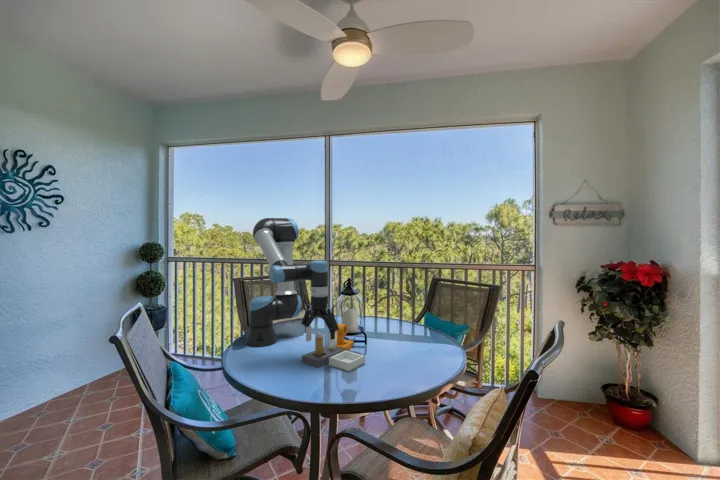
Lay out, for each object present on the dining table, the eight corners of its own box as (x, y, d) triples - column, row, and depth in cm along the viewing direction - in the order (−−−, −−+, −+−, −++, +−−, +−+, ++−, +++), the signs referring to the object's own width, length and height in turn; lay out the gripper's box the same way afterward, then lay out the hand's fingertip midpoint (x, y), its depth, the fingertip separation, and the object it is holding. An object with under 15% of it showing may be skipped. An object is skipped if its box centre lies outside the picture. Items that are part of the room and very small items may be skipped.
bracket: (345, 353, 164) (345, 328, 163) (331, 351, 166) (331, 326, 166) (354, 346, 174) (354, 322, 174) (340, 344, 176) (340, 321, 176)
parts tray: (329, 365, 148) (329, 357, 148) (345, 358, 157) (345, 350, 157) (349, 371, 142) (349, 363, 142) (364, 363, 150) (364, 355, 150)
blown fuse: (313, 361, 153) (313, 334, 153) (319, 358, 156) (319, 332, 156) (319, 363, 151) (319, 335, 151) (325, 360, 154) (325, 333, 154)
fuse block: (318, 367, 146) (318, 339, 145) (301, 362, 152) (301, 335, 151) (345, 355, 160) (345, 329, 160) (329, 351, 166) (329, 326, 166)
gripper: (293, 294, 157) (293, 340, 158) (335, 300, 142) (335, 351, 143) (305, 291, 163) (305, 336, 164) (346, 297, 148) (347, 346, 149)
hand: (319, 343), depth 153 cm, fingers open, 13 cm apart
